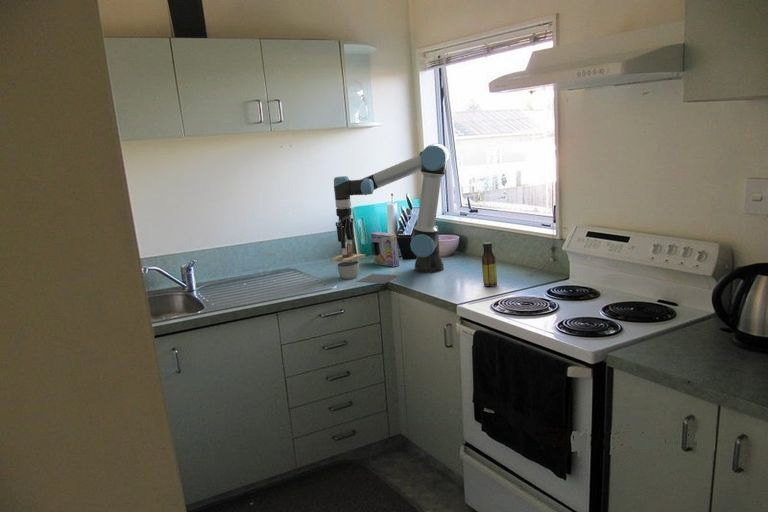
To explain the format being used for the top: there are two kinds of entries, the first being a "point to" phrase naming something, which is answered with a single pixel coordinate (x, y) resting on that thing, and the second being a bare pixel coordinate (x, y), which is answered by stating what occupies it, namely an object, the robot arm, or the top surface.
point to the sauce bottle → (489, 265)
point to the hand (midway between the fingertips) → (347, 253)
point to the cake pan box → (385, 248)
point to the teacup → (348, 269)
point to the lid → (348, 255)
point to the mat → (378, 278)
